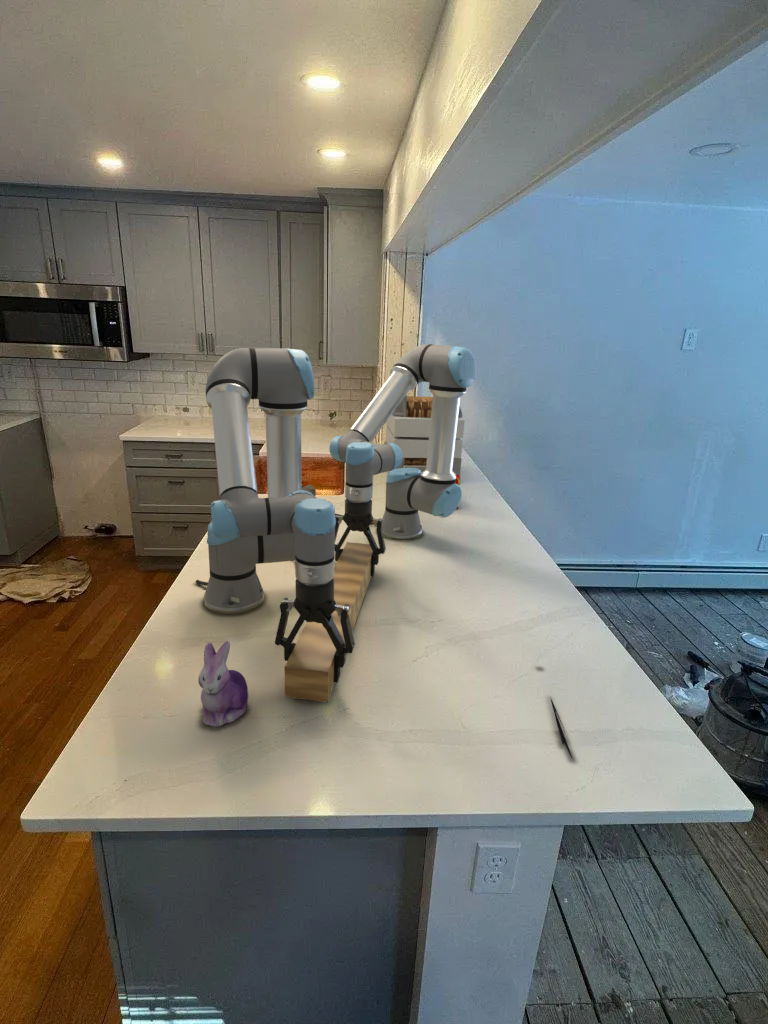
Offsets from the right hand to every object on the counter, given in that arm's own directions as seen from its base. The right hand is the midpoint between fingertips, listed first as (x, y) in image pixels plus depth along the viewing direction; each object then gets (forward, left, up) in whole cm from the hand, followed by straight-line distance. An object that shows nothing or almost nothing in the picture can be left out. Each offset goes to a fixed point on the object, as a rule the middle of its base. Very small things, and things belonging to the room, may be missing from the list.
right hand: (356, 572), depth 164 cm
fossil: (-58, +18, -2) cm, 61 cm away
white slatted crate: (-72, +95, -2) cm, 119 cm away
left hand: (+33, -37, 0) cm, 50 cm away
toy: (-39, +77, -2) cm, 86 cm away
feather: (+69, -3, -2) cm, 69 cm away
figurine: (+30, -55, -2) cm, 63 cm away
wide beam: (+17, -19, -1) cm, 25 cm away
